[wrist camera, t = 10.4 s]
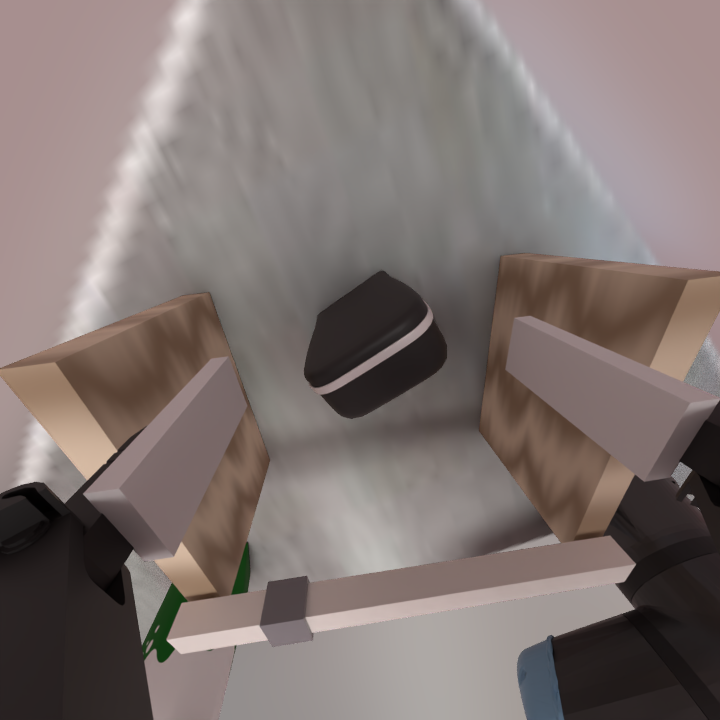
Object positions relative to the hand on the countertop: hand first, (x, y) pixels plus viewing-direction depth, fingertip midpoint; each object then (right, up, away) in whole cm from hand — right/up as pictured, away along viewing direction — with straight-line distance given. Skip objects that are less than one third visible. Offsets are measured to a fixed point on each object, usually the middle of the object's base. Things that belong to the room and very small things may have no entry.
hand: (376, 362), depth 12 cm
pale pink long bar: (+2, -14, +5) cm, 14 cm away
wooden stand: (0, -1, +12) cm, 12 cm away
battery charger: (-1, +4, +10) cm, 11 cm away
